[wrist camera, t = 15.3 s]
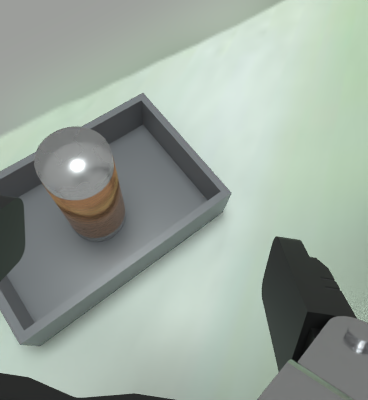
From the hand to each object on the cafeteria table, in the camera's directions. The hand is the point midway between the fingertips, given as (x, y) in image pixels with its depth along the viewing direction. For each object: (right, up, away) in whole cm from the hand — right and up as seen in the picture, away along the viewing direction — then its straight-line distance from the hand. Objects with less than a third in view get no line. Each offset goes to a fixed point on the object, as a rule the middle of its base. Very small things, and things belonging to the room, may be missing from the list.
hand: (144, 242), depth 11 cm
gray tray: (-9, -1, +29) cm, 30 cm away
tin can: (-8, 0, +29) cm, 30 cm away
